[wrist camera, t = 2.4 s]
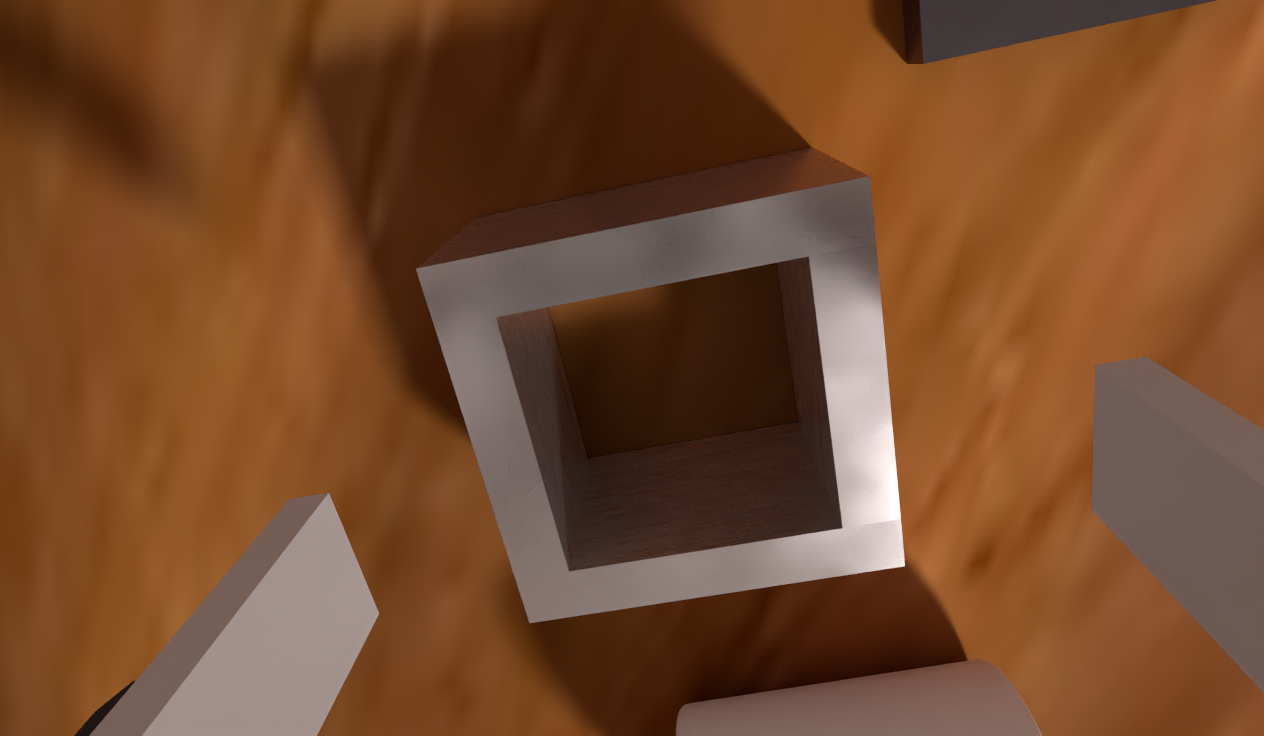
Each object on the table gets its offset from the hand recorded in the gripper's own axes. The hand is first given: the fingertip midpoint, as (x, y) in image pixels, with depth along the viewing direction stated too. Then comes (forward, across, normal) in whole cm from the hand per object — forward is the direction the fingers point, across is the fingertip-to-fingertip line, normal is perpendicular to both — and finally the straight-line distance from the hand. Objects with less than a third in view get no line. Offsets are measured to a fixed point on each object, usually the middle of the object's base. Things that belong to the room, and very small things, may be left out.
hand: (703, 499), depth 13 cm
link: (+9, 0, 0) cm, 9 cm away
